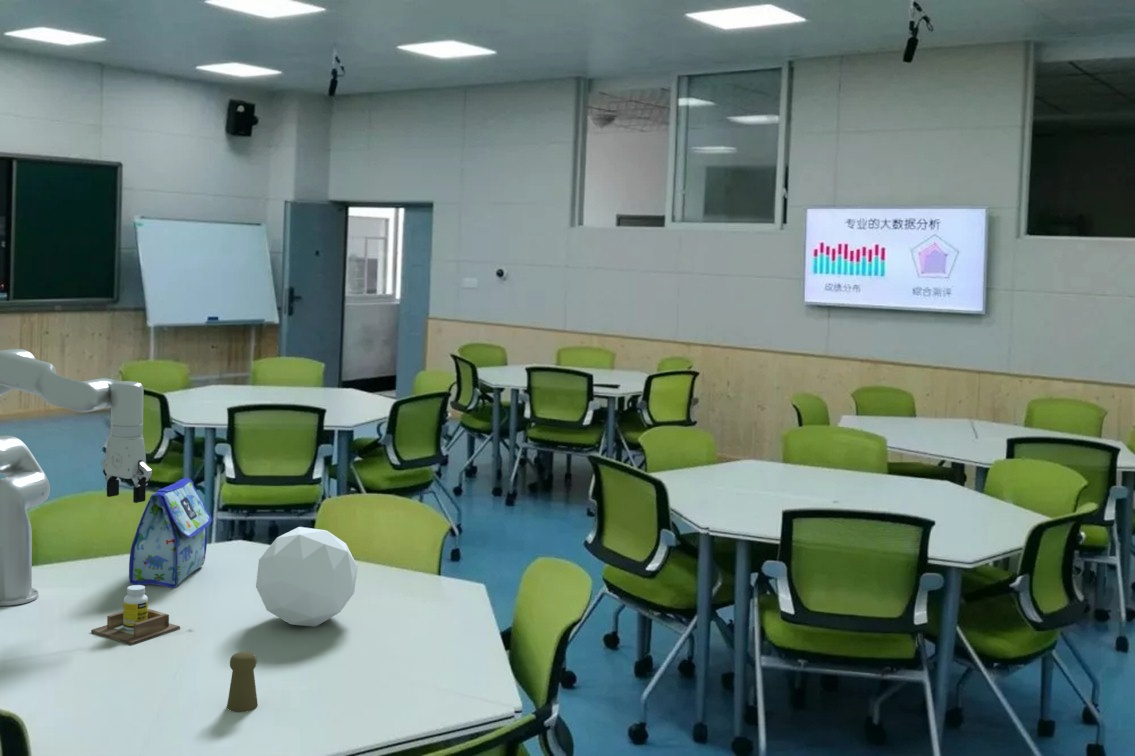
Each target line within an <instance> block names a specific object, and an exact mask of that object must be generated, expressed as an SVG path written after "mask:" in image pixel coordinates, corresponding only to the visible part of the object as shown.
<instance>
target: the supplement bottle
mask: <svg viewBox="0 0 1135 756" xmlns="http://www.w3.org/2000/svg"><path fill="white" fill-rule="evenodd" d="M145 593H146V586H145V585H143V584H138V585H134V584H131V585H129V586H127V588H126V594H127V595H125V596H124V597H123V605H122V606H123V608H122V609H123V610H122V611H123V628H124V629H127V630H134V623H138V622H141V621H144V620H147V614H148V609H149V608H148V607H149V598H148V596H147V595H146V594H145Z"/></svg>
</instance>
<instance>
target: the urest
mask: <svg viewBox="0 0 1135 756" xmlns="http://www.w3.org/2000/svg"><path fill="white" fill-rule="evenodd" d="M106 618H107V621H106V622H107V623H106V625H103V626H99V627H96V628H93V629H90V630H91V631H90V632H91V633H93V634H96V635H98V636H102V637H105V638H108V639H112V640H115V641H118V642H121V643H124V644H128V645H131V646H133V645H136V644H139V643H142V642H144V641H148V640H150V639H154V638H158V637H159V636H162V635H165V634H168V633H169V634H170V633H171V632H174V631H177V630H180V629H181V626H180V625H178V624H173V623H170V614H168V613H164V612H161V611H157V610H154V609H150V608H148V614H147V620H144V621H141V622H138V623H134V630H127V629H124V628H123V610H122V611H118V612H114V613H112V614H108V615H107V616H106Z"/></svg>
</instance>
